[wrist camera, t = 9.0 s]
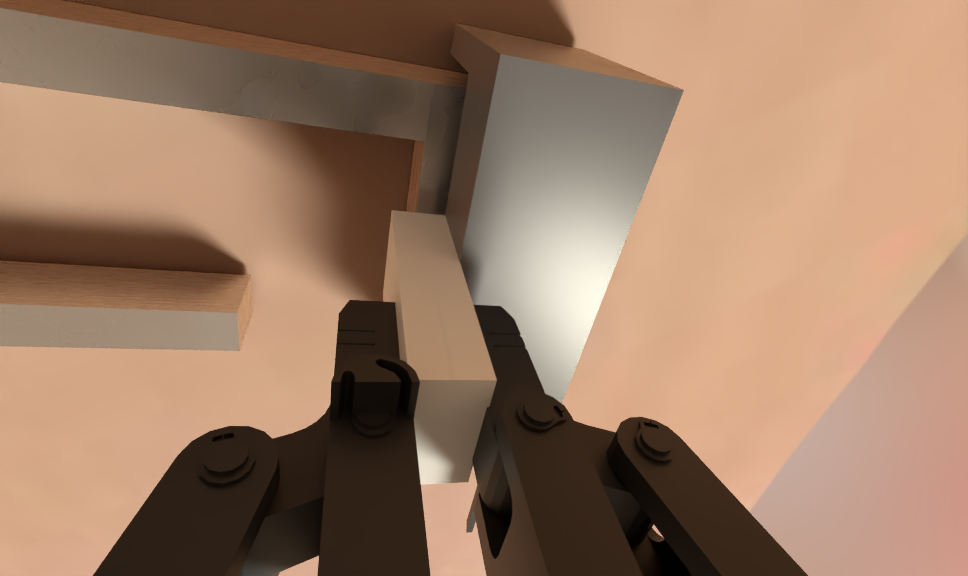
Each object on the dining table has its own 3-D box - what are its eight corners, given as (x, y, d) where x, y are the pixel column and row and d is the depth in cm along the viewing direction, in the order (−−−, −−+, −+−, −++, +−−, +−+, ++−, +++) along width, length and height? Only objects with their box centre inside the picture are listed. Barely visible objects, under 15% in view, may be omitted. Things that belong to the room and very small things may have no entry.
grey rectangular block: (583, 49, 15) (683, 90, 10) (502, 345, 21) (541, 456, 16) (455, 23, 14) (500, 53, 9) (408, 343, 20) (420, 461, 15)
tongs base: (591, 96, 16) (630, 119, 13) (525, 317, 20) (546, 364, 18) (-841, -165, 8) (-1317, -216, 6) (-436, 276, 13) (-612, 345, 11)
